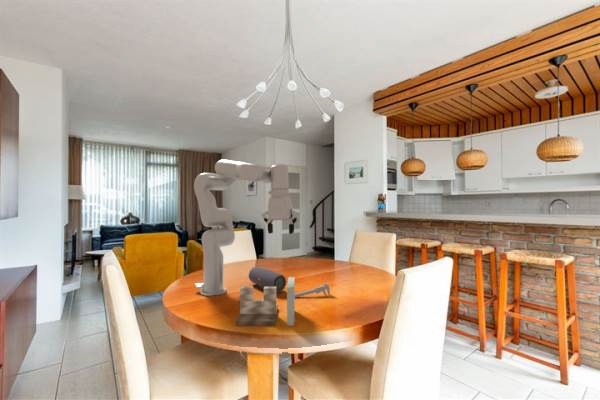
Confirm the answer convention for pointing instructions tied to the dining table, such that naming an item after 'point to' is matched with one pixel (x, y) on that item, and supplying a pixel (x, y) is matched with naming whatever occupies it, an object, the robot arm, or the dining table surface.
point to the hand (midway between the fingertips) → (280, 233)
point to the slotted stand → (257, 307)
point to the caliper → (317, 290)
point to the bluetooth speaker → (267, 278)
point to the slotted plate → (290, 301)
